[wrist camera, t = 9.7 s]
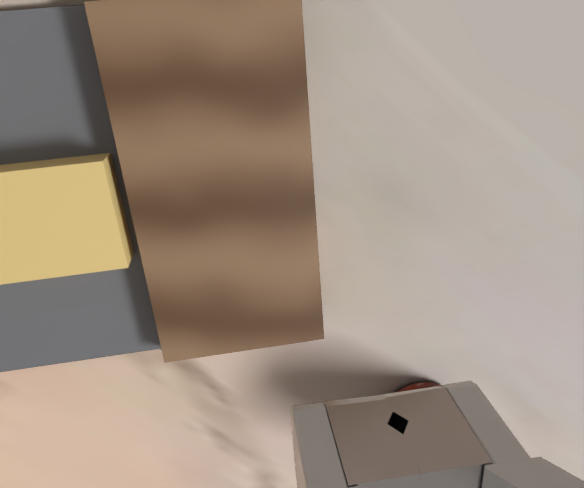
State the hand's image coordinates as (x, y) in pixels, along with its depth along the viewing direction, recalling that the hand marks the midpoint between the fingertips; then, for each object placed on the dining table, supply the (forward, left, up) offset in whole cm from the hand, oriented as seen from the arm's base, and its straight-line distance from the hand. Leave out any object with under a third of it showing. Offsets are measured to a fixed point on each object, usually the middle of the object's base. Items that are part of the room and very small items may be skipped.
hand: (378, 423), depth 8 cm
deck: (+2, -3, -22) cm, 22 cm away
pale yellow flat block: (+2, -12, -21) cm, 25 cm away
